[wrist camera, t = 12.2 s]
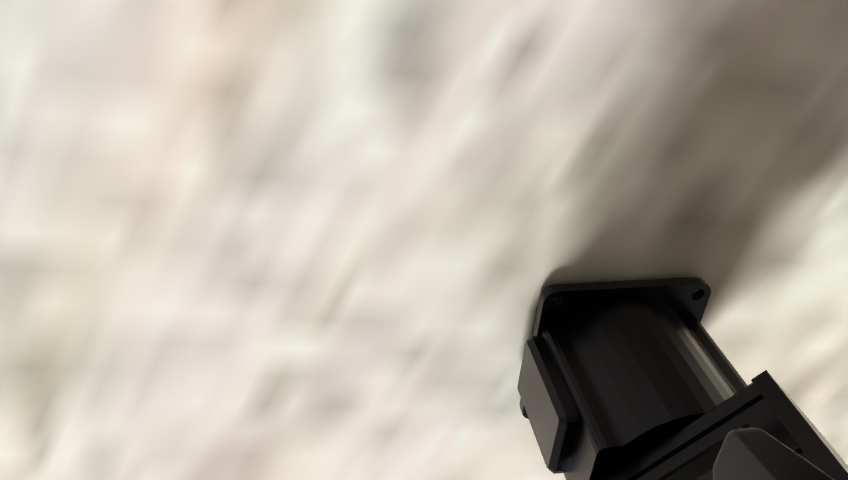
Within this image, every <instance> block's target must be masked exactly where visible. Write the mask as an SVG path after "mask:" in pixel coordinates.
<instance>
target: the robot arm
mask: <svg viewBox="0 0 848 480" xmlns="http://www.w3.org/2000/svg"><path fill="white" fill-rule="evenodd" d="M696 290H698V291H696ZM694 291H696V292H695V293H693V292H694ZM710 293H711V289H710V287H709V286H708V284H707V283H706V282H705V281H704V280H703V279H702V278H677V279H657V280H638V281H618V282H598V283H578V284H559V285H551V286H549V287H547V288H545V289H544V290H543V291H542V292H541V295H540V298H539V303H538V309H537V314H536V320H535V325H534V330H533V336H530V337H529V339H528V340H527V341H526V344H525V349H524V355H523V360H522V366H521V371H520V377H519V382H518V391H519V394H520V396H521V400H520V409H521V411H522V414H523V416H524V417H525V418H528V419H529V421H530V423H531V426H532V429H533V431H534V434H535V437H536V439H537V442H538V445H539V447H540V450H541V453H542V456H543V458H544V461H545V464H546V466H547V468H548V469H549V470H550V471H551V472H552V473H554V474H556V473H564V476H565V478H566V480H848V465H847V464H846V463H845V462H844V461H843V459H842V458H841V457H840V456H839V454H838V453H837V452H836V451H835V450H834V448H833V447H832V446H831V445H830V444H829V442H828V441H827V440H826V439H825V437H824V436H823V435H822V434H821V433H820V432H819V430H818V429H817V428H816V427H815V426H814V425H813V424H812V422H811V421H810V420H809V419H808V418H807V417H806V415H805V414H804V413H803V412H802V411H801V410H800V408H799V407H798V406H797V405H796V404H795V403H794V402H793V400H792V399H791V398H790V397H789V396H788V395H787V393H786V392H785V391H784V390H783V389H782V388H781V387H780V385H779V384H778V383H777V382H776V381H775V380H774V378H773V377H772V376H771V375H770V374H769V373H768V372H767V370H765V371H764V372H762V373H761V374H759V375H758V376H756V377H755V378H753V379H752V380H751V381H752V382H753V383H751V384H750V385H747V384H746V383H745V381H744V380H743V379H742V378H741V376H740V375H739V374H738V372H737V371H736V370H735V368H734V367H733V366H732V364H731V363H730V362H729V360H728V359H727V358H726V356H725V355H724V354H723V352H722V351H721V350H720V348H719V347H718V346H717V345H716V343H715V342H714V341H713V339H712V338H711V337H710V335H709V334H708V333H707V331H706V330H705V329H704V327H703V326H702V325H701V323H700V322H701V319H702V316H703V313H704V311H705V308H706V305H707V302H708V299H709V297H710ZM555 297H559V298H558V299H557V300H555V301H551V300H552V299H553V298H555Z"/></svg>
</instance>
